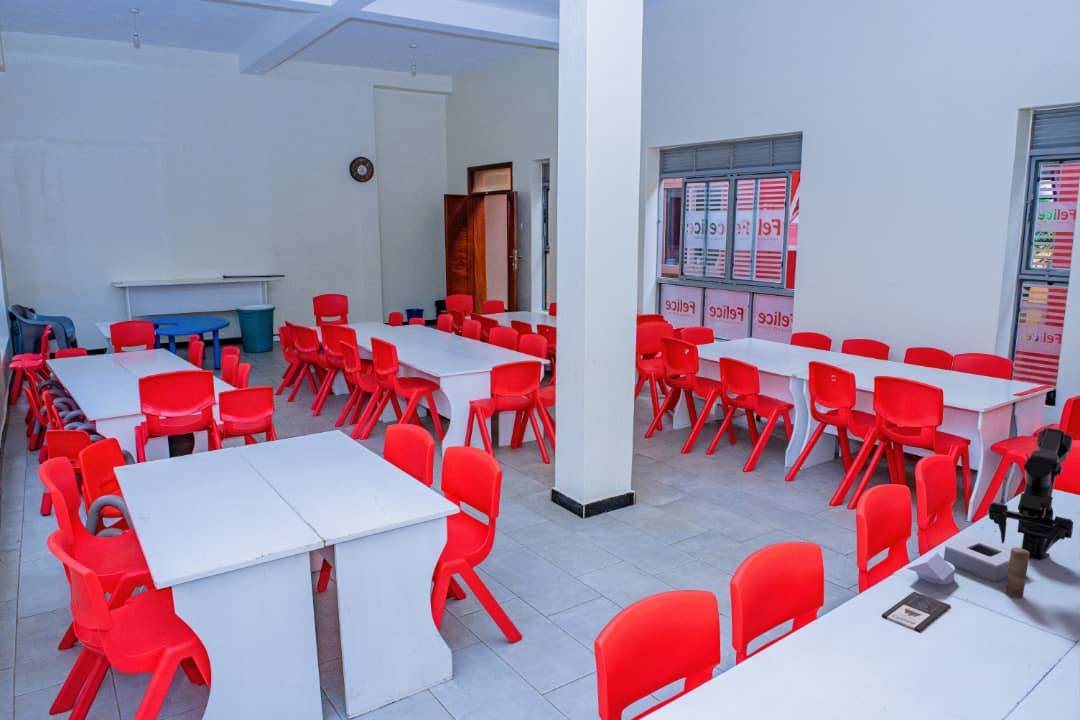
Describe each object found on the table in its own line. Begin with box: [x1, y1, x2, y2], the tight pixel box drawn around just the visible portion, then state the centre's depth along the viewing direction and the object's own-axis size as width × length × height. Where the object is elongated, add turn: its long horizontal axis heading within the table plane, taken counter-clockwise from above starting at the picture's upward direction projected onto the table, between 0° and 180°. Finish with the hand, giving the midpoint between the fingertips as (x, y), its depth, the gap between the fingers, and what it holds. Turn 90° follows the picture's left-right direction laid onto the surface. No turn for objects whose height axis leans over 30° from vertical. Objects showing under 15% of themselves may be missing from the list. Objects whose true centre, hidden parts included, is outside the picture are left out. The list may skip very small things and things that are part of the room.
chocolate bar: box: [881, 591, 952, 633], centre depth 188 cm, size 9×1×18 cm
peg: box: [1004, 547, 1030, 599], centre depth 197 cm, size 4×4×12 cm
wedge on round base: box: [906, 552, 956, 585], centre depth 205 cm, size 9×7×13 cm
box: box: [943, 535, 1012, 584], centre depth 213 cm, size 14×14×5 cm
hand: (1022, 548), depth 199 cm, fingers open, 9 cm apart
